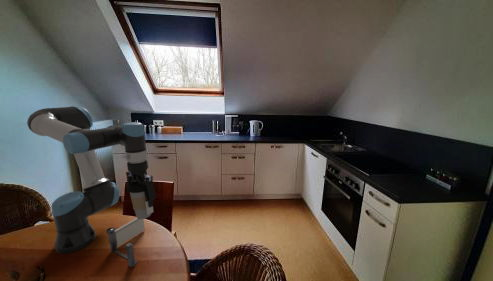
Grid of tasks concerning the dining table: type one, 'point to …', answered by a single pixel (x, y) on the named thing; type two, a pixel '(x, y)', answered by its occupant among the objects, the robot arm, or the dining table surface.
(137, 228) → the gate
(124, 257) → the bar
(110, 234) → the hinge post
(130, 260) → the post
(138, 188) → the coffee cup
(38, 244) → the dining table surface
